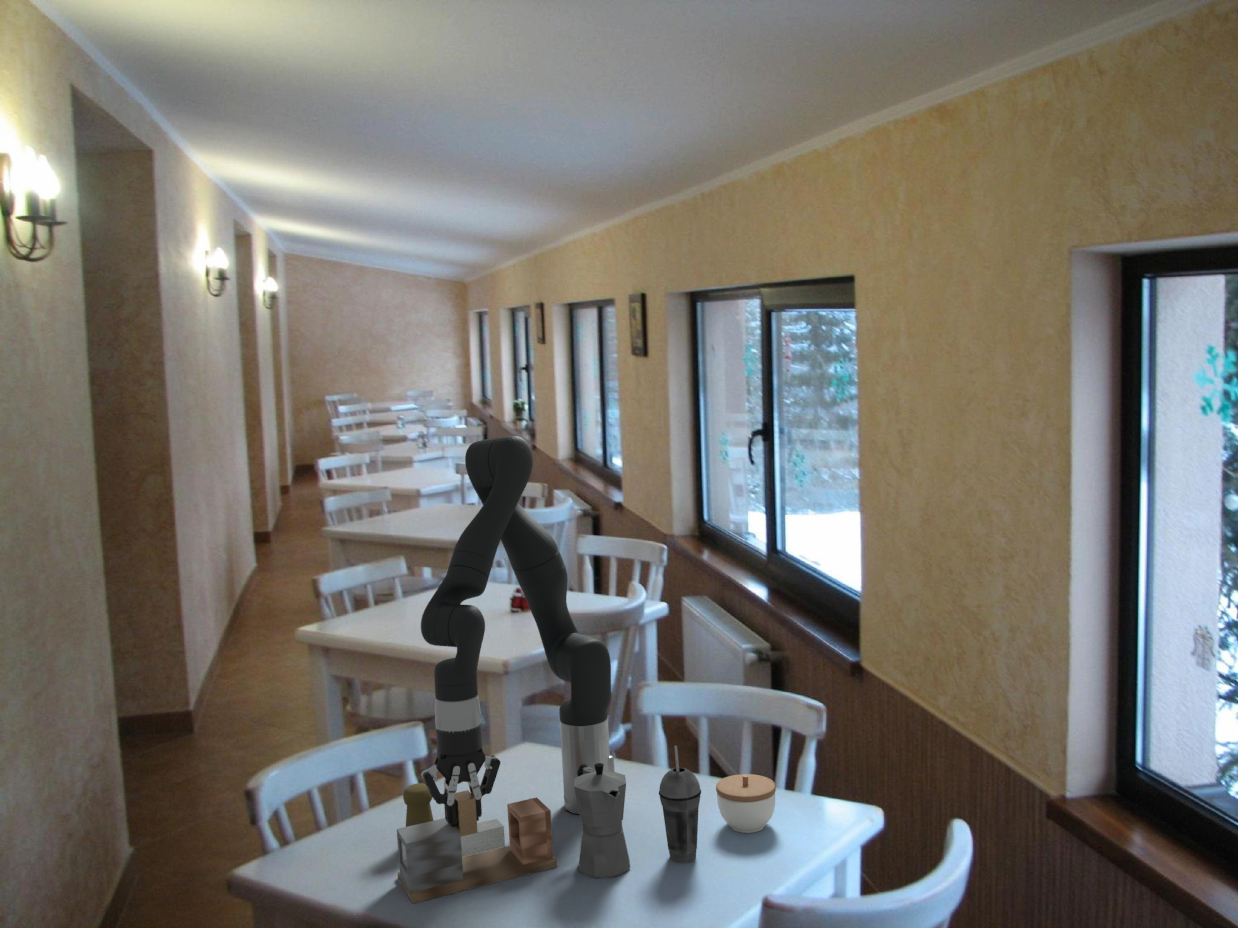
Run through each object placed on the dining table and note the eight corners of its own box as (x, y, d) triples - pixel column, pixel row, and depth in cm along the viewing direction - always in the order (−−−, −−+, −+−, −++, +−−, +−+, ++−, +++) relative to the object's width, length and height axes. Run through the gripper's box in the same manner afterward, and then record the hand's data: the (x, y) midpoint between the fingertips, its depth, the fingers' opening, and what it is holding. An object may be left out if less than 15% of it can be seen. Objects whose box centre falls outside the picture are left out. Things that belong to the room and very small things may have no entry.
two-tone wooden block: (497, 838, 191) (494, 784, 190) (505, 846, 188) (501, 792, 187) (402, 860, 184) (398, 805, 183) (408, 870, 181) (404, 813, 180)
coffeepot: (646, 875, 184) (641, 770, 182) (594, 888, 180) (588, 781, 178) (608, 840, 198) (603, 742, 196) (559, 852, 194) (553, 752, 192)
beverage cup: (708, 849, 192) (703, 737, 190) (698, 868, 185) (692, 752, 183) (668, 845, 194) (663, 735, 193) (656, 864, 188) (650, 749, 186)
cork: (431, 852, 197) (426, 792, 196) (399, 851, 198) (394, 791, 197) (443, 837, 202) (439, 779, 201) (411, 836, 204) (407, 778, 203)
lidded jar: (750, 808, 208) (748, 760, 208) (789, 827, 200) (787, 776, 199) (705, 824, 203) (703, 774, 202) (744, 844, 194) (742, 792, 193)
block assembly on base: (536, 844, 198) (533, 793, 197) (557, 866, 189) (554, 813, 188) (397, 878, 187) (394, 825, 186) (413, 903, 178) (409, 847, 177)
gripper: (491, 709, 191) (496, 805, 193) (410, 723, 185) (416, 822, 187) (505, 720, 184) (510, 821, 186) (422, 735, 178) (428, 839, 180)
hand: (463, 821), depth 186 cm, fingers open, 3 cm apart
